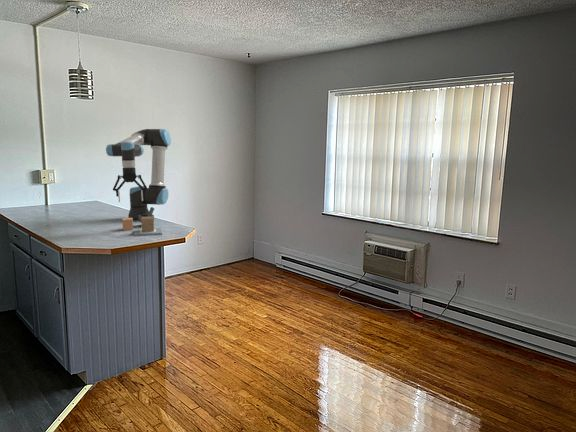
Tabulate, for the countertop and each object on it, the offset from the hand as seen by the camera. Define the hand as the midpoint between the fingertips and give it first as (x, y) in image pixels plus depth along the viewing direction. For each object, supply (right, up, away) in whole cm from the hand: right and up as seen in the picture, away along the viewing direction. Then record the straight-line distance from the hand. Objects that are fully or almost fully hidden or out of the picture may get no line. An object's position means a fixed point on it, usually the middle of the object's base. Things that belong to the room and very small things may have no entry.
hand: (131, 201), depth 277 cm
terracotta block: (-3, -18, +4) cm, 19 cm away
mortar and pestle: (+5, -16, +17) cm, 24 cm away
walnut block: (+12, -18, -5) cm, 23 cm away
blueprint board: (+12, -20, -5) cm, 24 cm away
